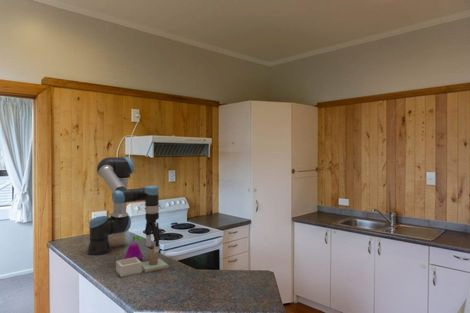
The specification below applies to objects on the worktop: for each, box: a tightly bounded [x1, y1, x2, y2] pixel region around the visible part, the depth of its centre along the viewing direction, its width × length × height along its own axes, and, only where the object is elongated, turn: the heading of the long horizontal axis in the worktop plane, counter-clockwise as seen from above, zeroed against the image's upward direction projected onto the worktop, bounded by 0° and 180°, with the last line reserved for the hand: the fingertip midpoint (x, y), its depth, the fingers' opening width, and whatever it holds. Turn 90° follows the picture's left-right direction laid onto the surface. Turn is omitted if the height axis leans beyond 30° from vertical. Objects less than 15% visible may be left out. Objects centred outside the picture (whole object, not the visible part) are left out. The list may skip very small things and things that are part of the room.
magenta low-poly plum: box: [123, 236, 144, 261], centre depth 198 cm, size 11×11×15 cm
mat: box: [142, 265, 170, 274], centre depth 185 cm, size 14×14×1 cm
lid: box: [141, 248, 169, 271], centre depth 185 cm, size 13×13×9 cm
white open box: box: [115, 257, 143, 278], centre depth 177 cm, size 11×11×6 cm
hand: (152, 248), depth 185 cm, fingers open, 13 cm apart
